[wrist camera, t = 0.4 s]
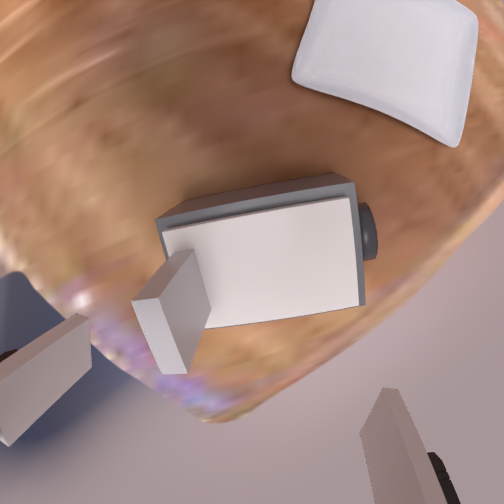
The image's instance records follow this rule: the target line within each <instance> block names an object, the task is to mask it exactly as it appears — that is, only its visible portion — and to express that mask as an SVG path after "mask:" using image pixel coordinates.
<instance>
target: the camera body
mask: <svg viewBox="0 0 504 504" xmlns="http://www.w3.org/2000/svg"><path fill="white" fill-rule="evenodd" d="M344 196H347V197H348V198H349V200H350V208H351V216H352V225H353V234H354V244H355V255H356V267H357V281H358V297H359V306H363V305H365V283H364V267H363V261H367V260H372V259H375V258H376V255H377V249H378V241H377V230H376V225H375V222H374V218H373V215H372V212H371V210H370V208H369V206H368V205H367V204H366V203H358V204H357V196H356V189H355V182H353V181H351V180H349V179H347V178H345V177H343V176H341V175H338V174H336V173H331V174H324V175H318V176H312V177H305V178H299V179H293V180H288V181H282V182H276V183H271V184H265V185H260V186H255V187H250V188H244V189H239V190H234V191H229V192H225V193H220V194H215V195H210V196H206V197H201V198H196V199H192V200H188V201H183V202H181V203H180V204H178V205H176V206H175V207H173V208H172V209H170V210H169V211H167V212H166V213H164V214H163V215H161V216H160V217H158V218H157V219H155V222H156V226H157V229H158V233H159V236H160V240H161V243H162V247H163V250H164V253H165V257H166V260H167V259H168V258H169V256H168V252H167V249H166V245H165V242H164V238H163V235H162V232H163V231H164V230H165V229H169V228H174V227H179V226H184V225H189V224H193V223H198V222H203V221H208V220H213V219H218V218H224V217H229V216H234V215H239V214H245V213H250V212H255V211H261V210H266V209H272V208H277V207H283V206H289V205H295V204H301V203H307V202H313V201H319V200H325V199H331V198H337V197H344ZM354 307H358V306H354ZM349 308H353V307H349ZM344 309H347V308H344ZM338 310H342V309H338ZM333 311H337V310H333ZM327 312H331V311H327ZM321 313H325V312H321ZM315 314H320V313H315ZM309 315H314V314H309ZM303 316H308V315H303ZM297 317H301V316H297ZM291 318H295V317H291ZM284 319H289V318H284ZM277 320H282V319H277ZM271 321H275V320H271ZM263 322H268V321H263ZM256 323H261V322H256ZM249 324H254V323H249ZM241 325H246V324H241ZM233 326H238V325H233ZM224 327H230V326H224ZM216 328H222V327H216ZM207 329H213V328H207Z"/></svg>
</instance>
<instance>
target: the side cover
mask: <svg viewBox="0 0 504 504" xmlns="http://www.w3.org/2000/svg"><path fill="white" fill-rule="evenodd" d="M162 235H163V238H164V242H165V245H166V249H167V252H168V256H169V258H168V259H167V260H166V261H165V262H164V264H163V265H162V266H161V267H160V268H159V269H158V270H157V272H156V273H155V274H154V275H153V276H152V277H151V278H150V280H149V281H148V282H147V283H146V284H145V285H144V286H143V288H142V289H141V290H140V291H139V292H138V293H137V295H136V296H135V297H134V298H133V299H132V301H131V303H132V305H133V308H134V311H135V313H136V316H137V318H138V321H139V323H140V325H141V328H142V330H143V333H144V335H145V337H146V340H147V342H148V344H149V347H150V349H151V351H152V353H153V356H154V358H155V360H156V362H157V364H158V367H159V369H160V371H161V373H162V374H185V373H188V371H189V369H190V366H191V363H192V360H193V358H194V355H195V352H196V350H197V347H198V344H199V341H200V339H201V336H202V333H203V331H204V329H207V328H216V327H224V326H233V325H241V324H249V323H256V322H263V321H271V320H277V319H284V318H291V317H297V316H303V315H309V314H315V313H321V312H327V311H333V310H338V309H344V308H349V307H354V306H359V297H358V281H357V267H356V255H355V244H354V234H353V225H352V216H351V208H350V200H349V198H348V197H347V196H344V197H337V198H331V199H325V200H319V201H313V202H307V203H301V204H295V205H289V206H283V207H277V208H272V209H266V210H261V211H255V212H250V213H245V214H239V215H234V216H229V217H224V218H218V219H213V220H208V221H203V222H198V223H193V224H189V225H184V226H179V227H174V228H169V229H165V230H164V231H163V232H162Z"/></svg>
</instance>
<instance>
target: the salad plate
mask: <svg viewBox="0 0 504 504" xmlns="http://www.w3.org/2000/svg"><path fill="white" fill-rule="evenodd" d="M477 39H478V18H477V16H476V15H475V13H473V12H472V11H471V10H470V9H468V8H467V7H465V6H464V5H462V4H461V3H459V2H458V1H456V0H315V2H314V5H313V8H312V11H311V14H310V18H309V21H308V23H307V26H306V29H305V32H304V34H303V37H302V40H301V42H300V45H299V48H298V50H297V53H296V57H295V60H294V64H293V67H292V72H291V76H292V80H293V81H294V82H295V83H297V84H299V85H301V86H304V87H307V88H310V89H313V90H316V91H319V92H322V93H326V94H330V95H333V96H336V97H340V98H343V99H346V100H349V101H352V102H355V103H358V104H361V105H364V106H366V107H369V108H372V109H375V110H377V111H380V112H382V113H384V114H387V115H389V116H391V117H393V118H396V119H398V120H400V121H402V122H404V123H406V124H408V125H410V126H412V127H414V128H416V129H418V130H420V131H421V132H423V133H425V134H427V135H429V136H430V137H432V138H434V139H436V140H438V141H439V142H441V143H443V144H445V145H447V146H449V147H457V146H458V144H459V142H460V139H461V136H462V132H463V128H464V123H465V118H466V113H467V108H468V102H469V97H470V91H471V84H472V77H473V70H474V63H475V56H476V47H477Z"/></svg>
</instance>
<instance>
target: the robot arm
mask: <svg viewBox="0 0 504 504" xmlns="http://www.w3.org/2000/svg"><path fill="white" fill-rule="evenodd" d="M91 367H92V363H91V349H90V325H89V318H88V317H85V316H82V315H80V314H77V313H76V314H74V315H73V316H71V317H70V318H68V319H67V320H65V321H63V322H62V323H60V324H59V325H57V326H55V327H54V328H52V329H51V330H49V331H48V332H46V333H44V334H43V335H41V336H40V337H38V338H37V339H35V340H34V341H32V342H31V343H29V344H28V345H26V346H24V347H23V348H21V349H20V350H17V349H15V350H11V351H8V352H5V353H3V354H2V355H0V440H1V441H2V442H3V443H5V444H6V445H7V446H8V447H9V446H11V445H12V444H13V442H15V441H16V440H17V439H18V438H19V437H20V436H21V435H22V434H23V433H24V432H25V431H26V430H27V429H28V428H29V427H30V426H31V425H32V424H33V423H34V422H35V421H36V420H37V419H38V418H39V417H40V416H41V415H42V414H43V413H44V412H45V411H46V410H47V409H48V408H49V407H50V406H51V405H52V404H53V403H54V402H55V401H56V400H58V399H59V397H61V396H62V395H63V394H64V393H65V392H66V391H67V390H68V389H69V388H70V387H71V386H72V385H73V384H74V383H75V382H76V381H77V380H78V379H80V378H81V377H82V376H83V375H84V374H85V373H86V372H87V371H88V370H89V369H90V368H91ZM360 437H361V441H362V445H363V450H364V454H365V458H366V463H367V468H368V472H369V477H370V482H371V487H372V492H373V497H374V502H375V504H460V501H459V499H458V496H457V494H456V491H455V489H454V487H453V484H452V482H451V480H449V478H450V477H449V475H448V473H447V472H446V468H445V466H444V464H443V462H442V460H441V459H440V458H439V457H438V456H437V455H436V454H435V453H434V452H430V453H427V452H426V450H425V447H424V445H423V443H422V440H421V438H420V436H419V434H418V432H417V430H416V427H415V425H414V423H413V420H412V418H411V416H410V414H409V412H408V410H407V407H406V405H405V403H404V401H403V399H402V397H401V395H400V393H399V391H398V389H391V388H382V390H381V392H380V394H379V396H378V398H377V400H376V402H375V404H374V406H373V408H372V410H371V412H370V414H369V416H368V418H367V420H366V421H365V424H364V425H363V427H362V429H361V431H360Z"/></svg>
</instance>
